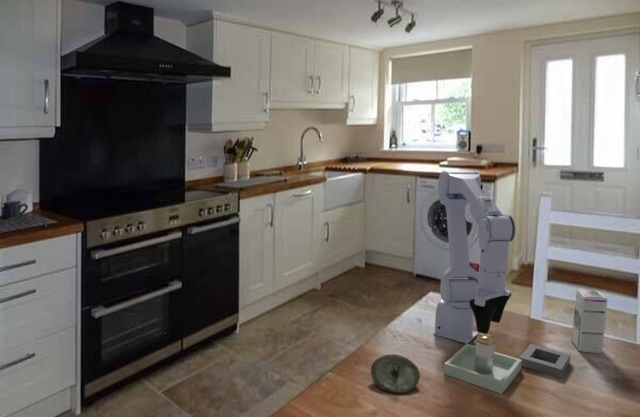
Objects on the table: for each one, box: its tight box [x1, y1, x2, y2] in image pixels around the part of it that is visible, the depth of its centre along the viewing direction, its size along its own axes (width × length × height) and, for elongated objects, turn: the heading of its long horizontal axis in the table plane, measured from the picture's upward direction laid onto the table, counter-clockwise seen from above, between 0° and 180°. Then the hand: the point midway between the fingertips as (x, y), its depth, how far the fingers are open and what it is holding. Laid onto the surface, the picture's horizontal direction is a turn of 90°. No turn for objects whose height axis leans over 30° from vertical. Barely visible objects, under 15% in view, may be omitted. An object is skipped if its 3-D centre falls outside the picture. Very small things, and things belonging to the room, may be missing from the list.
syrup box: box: [571, 288, 608, 354], centre depth 121 cm, size 6×6×14 cm
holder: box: [519, 343, 571, 379], centre depth 113 cm, size 9×9×2 cm
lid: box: [370, 353, 421, 394], centre depth 104 cm, size 11×10×5 cm
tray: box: [443, 343, 522, 395], centre depth 109 cm, size 13×13×2 cm
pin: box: [474, 332, 496, 375], centre depth 108 cm, size 4×4×8 cm
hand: (488, 326), depth 109 cm, fingers open, 7 cm apart
